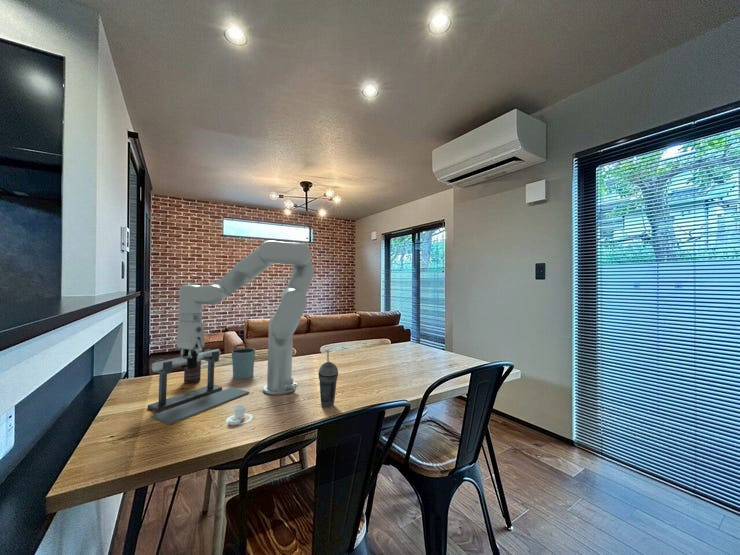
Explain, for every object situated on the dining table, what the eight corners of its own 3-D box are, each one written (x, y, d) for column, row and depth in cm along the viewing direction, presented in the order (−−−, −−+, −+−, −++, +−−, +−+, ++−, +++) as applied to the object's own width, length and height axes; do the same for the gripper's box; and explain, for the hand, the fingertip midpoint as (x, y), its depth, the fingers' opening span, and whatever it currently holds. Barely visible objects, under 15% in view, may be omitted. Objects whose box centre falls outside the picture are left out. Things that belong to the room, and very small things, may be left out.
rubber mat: (249, 393, 119) (249, 391, 119) (169, 424, 92) (169, 423, 92) (231, 388, 123) (231, 387, 123) (151, 417, 96) (151, 415, 96)
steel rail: (215, 356, 123) (215, 348, 124) (220, 357, 122) (220, 349, 122) (151, 371, 102) (151, 362, 102) (156, 372, 101) (156, 363, 101)
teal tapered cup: (249, 380, 134) (249, 353, 134) (226, 379, 134) (227, 352, 134) (257, 373, 144) (258, 348, 144) (236, 372, 144) (237, 347, 144)
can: (193, 384, 126) (194, 351, 126) (180, 383, 128) (181, 350, 128) (204, 380, 132) (205, 348, 132) (191, 378, 134) (192, 347, 134)
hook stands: (222, 389, 121) (223, 350, 121) (157, 412, 100) (159, 364, 100) (212, 387, 124) (213, 348, 124) (147, 408, 103) (149, 361, 103)
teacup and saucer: (233, 430, 91) (233, 416, 91) (218, 422, 95) (218, 409, 95) (258, 419, 98) (258, 406, 98) (243, 412, 102) (243, 400, 102)
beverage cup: (320, 411, 104) (322, 353, 104) (314, 403, 111) (316, 348, 111) (340, 407, 107) (342, 351, 108) (333, 400, 114) (334, 347, 114)
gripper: (214, 318, 112) (212, 368, 112) (187, 315, 119) (185, 361, 119) (194, 320, 105) (192, 373, 105) (167, 317, 113) (165, 366, 112)
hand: (188, 366), depth 112 cm, fingers closed on steel rail, 3 cm apart
